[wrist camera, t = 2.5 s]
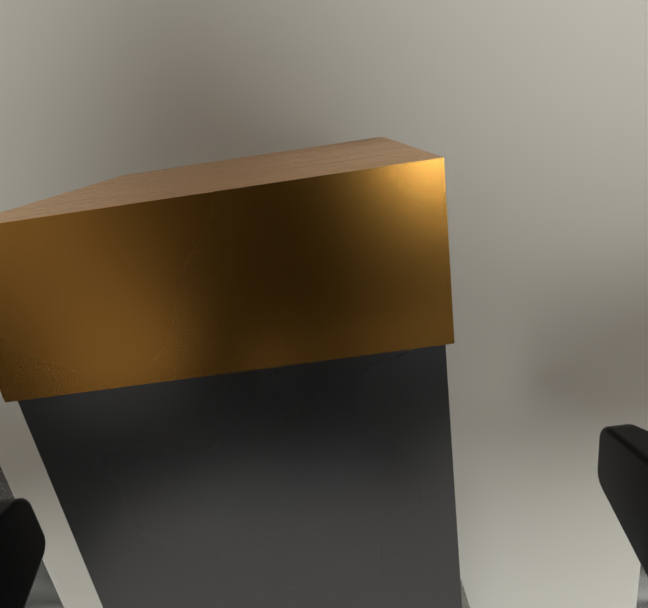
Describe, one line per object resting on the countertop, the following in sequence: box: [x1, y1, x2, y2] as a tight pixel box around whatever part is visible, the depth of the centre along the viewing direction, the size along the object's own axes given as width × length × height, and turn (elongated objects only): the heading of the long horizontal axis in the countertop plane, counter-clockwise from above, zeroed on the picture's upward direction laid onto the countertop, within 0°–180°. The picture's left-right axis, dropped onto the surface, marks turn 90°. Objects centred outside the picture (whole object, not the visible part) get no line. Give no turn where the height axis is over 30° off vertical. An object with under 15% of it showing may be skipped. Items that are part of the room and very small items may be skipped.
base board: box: [0, 0, 648, 608], centre depth 10 cm, size 14×32×1 cm, turn 8°
